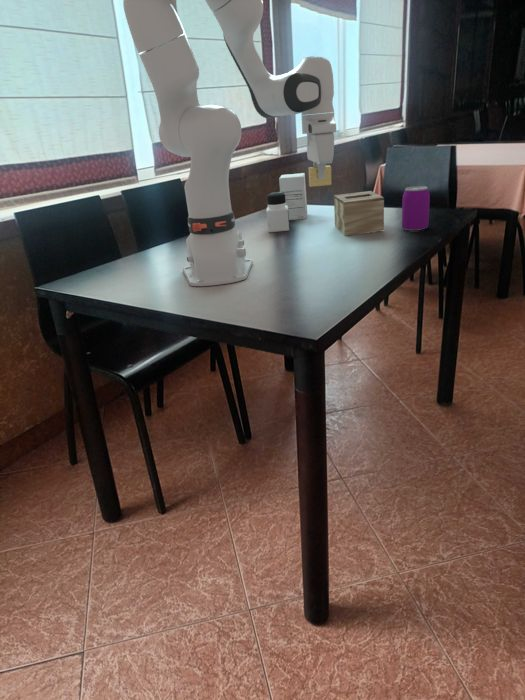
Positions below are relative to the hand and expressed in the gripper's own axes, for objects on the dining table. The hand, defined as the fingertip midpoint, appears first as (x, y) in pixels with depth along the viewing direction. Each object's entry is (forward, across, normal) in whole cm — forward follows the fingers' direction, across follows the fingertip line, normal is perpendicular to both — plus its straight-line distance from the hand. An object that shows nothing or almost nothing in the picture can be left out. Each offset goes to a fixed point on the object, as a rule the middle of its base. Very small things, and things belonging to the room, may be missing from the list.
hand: (319, 178), depth 140 cm
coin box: (+17, -9, +14) cm, 24 cm away
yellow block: (+2, 0, 0) cm, 2 cm away
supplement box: (+18, -39, -2) cm, 43 cm away
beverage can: (+17, 0, +29) cm, 33 cm away
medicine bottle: (+18, -22, -10) cm, 30 cm away
